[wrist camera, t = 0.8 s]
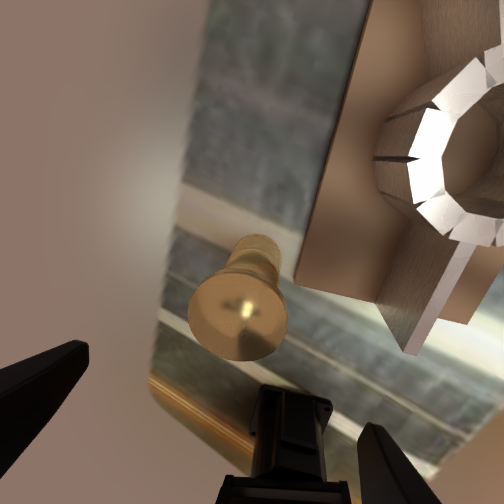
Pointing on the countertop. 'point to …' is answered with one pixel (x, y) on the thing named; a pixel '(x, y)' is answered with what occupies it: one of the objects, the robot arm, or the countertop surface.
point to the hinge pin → (242, 303)
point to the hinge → (430, 165)
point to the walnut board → (362, 176)
